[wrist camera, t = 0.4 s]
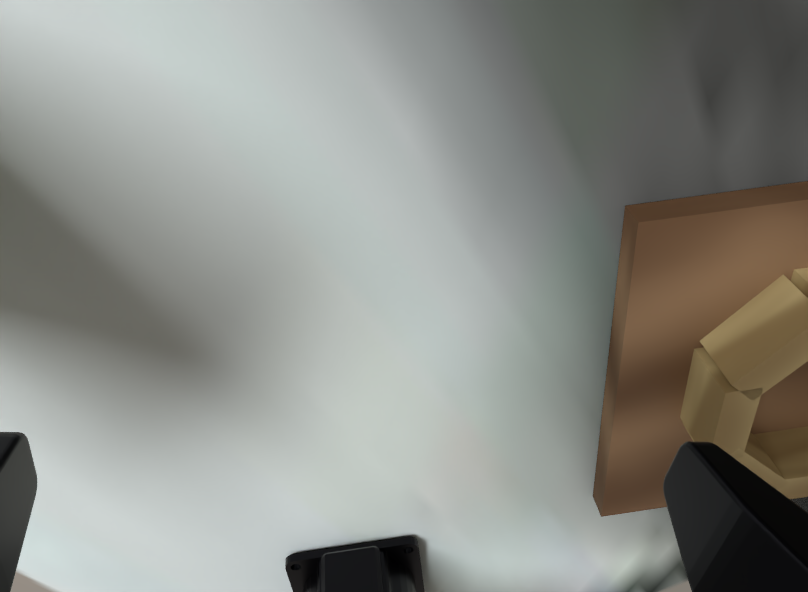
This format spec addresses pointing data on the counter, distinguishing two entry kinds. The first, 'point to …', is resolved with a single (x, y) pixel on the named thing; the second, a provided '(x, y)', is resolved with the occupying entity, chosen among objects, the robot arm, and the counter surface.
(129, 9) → the counter surface
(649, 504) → the ring board
